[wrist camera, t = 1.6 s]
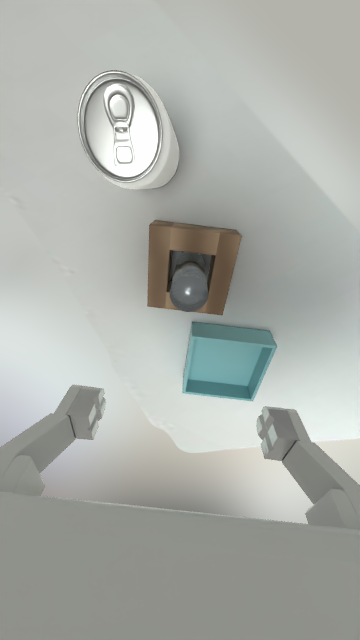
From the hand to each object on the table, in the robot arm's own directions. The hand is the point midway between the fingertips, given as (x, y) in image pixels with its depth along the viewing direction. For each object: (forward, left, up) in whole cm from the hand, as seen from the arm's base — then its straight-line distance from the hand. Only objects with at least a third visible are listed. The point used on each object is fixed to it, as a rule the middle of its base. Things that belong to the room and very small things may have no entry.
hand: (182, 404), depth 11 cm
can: (+6, -12, -23) cm, 27 cm away
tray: (-8, +16, -23) cm, 29 cm away
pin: (0, 0, -23) cm, 23 cm away
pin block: (0, 0, -23) cm, 23 cm away
